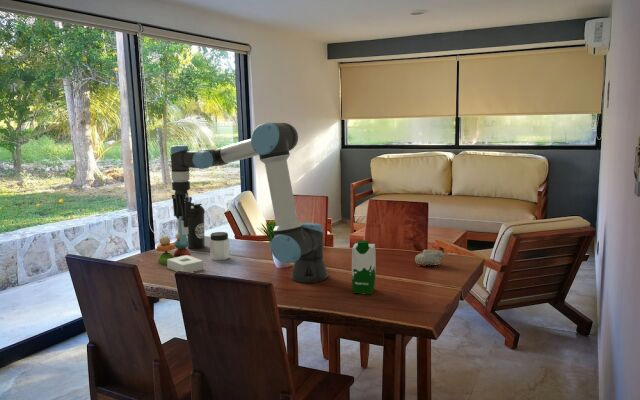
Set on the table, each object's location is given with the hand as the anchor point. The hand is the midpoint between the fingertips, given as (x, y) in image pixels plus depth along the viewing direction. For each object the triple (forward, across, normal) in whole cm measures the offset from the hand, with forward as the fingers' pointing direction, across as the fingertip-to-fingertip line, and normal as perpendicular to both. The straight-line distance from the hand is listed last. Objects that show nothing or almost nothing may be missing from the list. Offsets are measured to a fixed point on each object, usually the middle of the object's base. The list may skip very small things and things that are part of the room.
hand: (183, 233), depth 229 cm
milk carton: (+15, -78, -31) cm, 86 cm away
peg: (+4, 0, 0) cm, 4 cm away
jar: (+16, +4, -21) cm, 27 cm away
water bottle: (+16, +32, -25) cm, 44 cm away
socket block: (+16, 0, 0) cm, 16 cm away
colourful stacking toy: (+17, +16, -7) cm, 24 cm away
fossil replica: (+15, -76, -78) cm, 110 cm away
